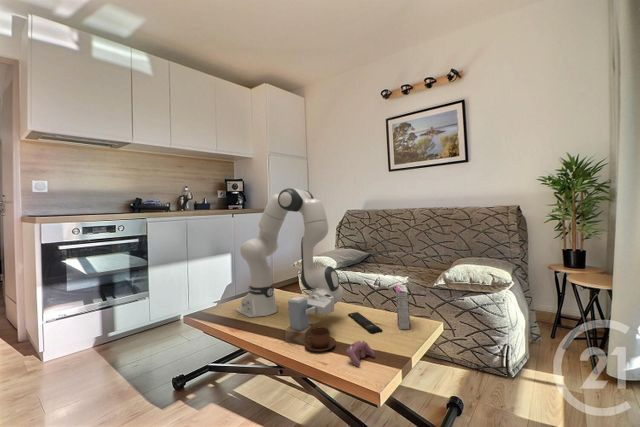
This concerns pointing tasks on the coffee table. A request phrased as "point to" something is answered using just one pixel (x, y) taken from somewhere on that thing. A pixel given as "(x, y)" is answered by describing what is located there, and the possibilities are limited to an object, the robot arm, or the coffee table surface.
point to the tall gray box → (298, 313)
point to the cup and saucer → (319, 340)
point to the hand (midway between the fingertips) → (297, 310)
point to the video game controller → (362, 348)
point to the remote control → (365, 323)
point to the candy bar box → (402, 307)
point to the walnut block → (298, 335)
